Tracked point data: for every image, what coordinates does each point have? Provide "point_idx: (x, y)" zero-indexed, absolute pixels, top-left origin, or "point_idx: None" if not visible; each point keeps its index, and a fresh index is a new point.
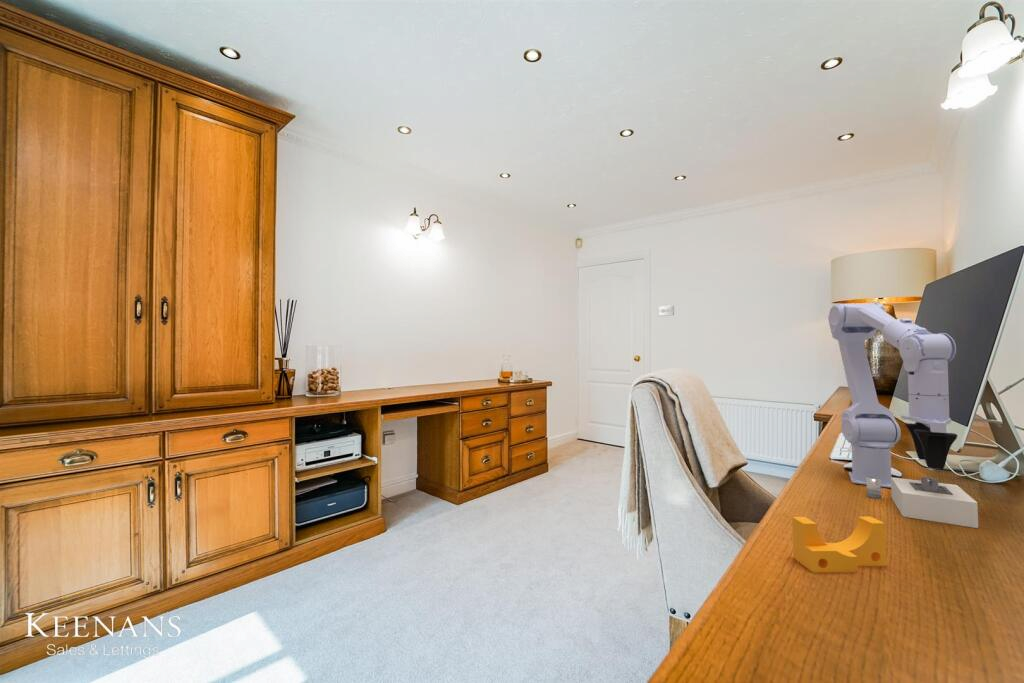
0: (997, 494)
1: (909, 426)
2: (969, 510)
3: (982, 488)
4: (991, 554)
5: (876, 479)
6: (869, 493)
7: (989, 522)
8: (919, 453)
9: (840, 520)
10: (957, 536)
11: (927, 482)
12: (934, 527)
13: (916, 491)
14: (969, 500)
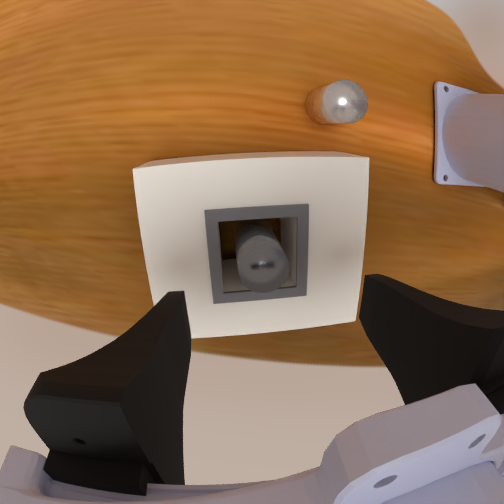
0: None
1: (485, 342)
2: None
3: None
4: (26, 289)
5: (339, 108)
6: (314, 91)
7: None
8: (377, 289)
9: (35, 47)
10: (78, 256)
11: (240, 257)
12: (108, 222)
13: (185, 212)
14: None
